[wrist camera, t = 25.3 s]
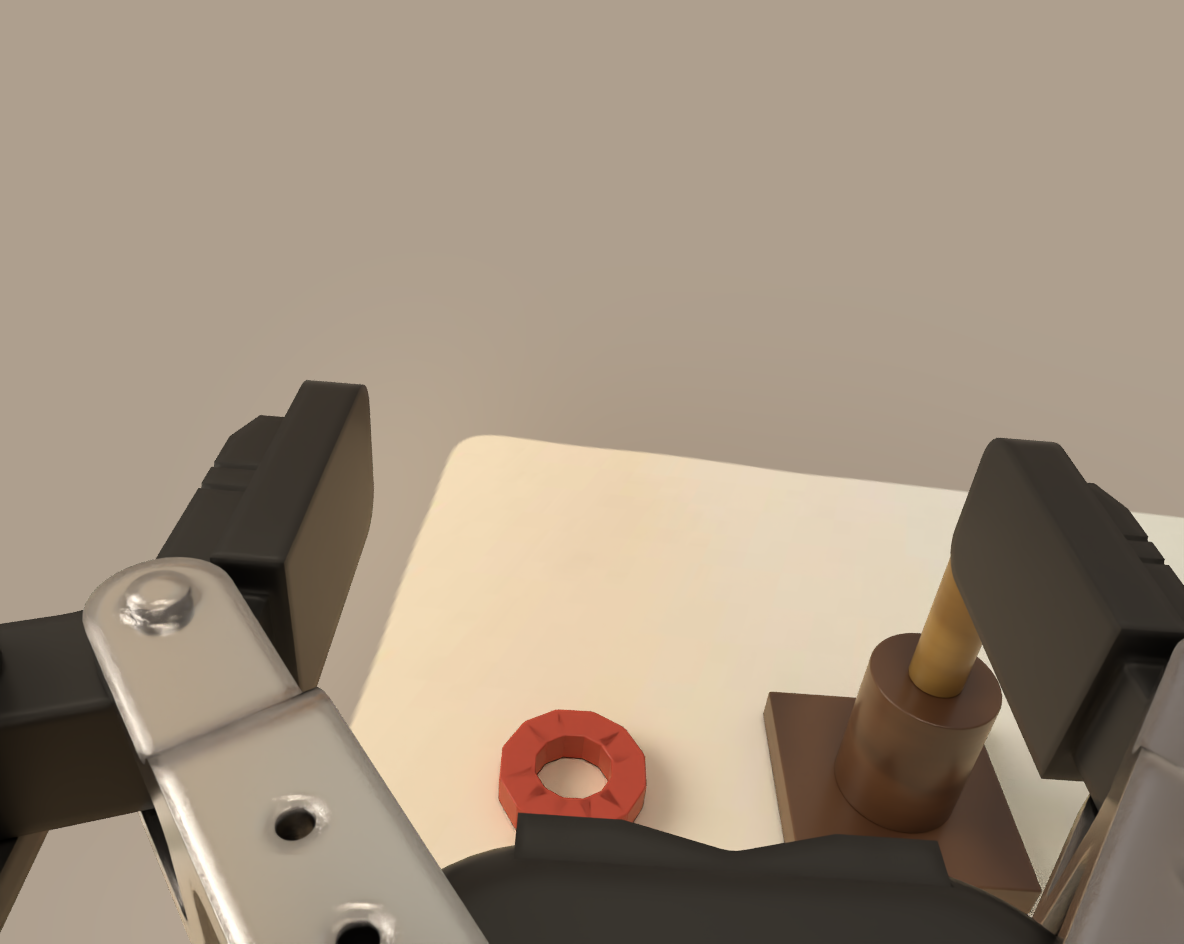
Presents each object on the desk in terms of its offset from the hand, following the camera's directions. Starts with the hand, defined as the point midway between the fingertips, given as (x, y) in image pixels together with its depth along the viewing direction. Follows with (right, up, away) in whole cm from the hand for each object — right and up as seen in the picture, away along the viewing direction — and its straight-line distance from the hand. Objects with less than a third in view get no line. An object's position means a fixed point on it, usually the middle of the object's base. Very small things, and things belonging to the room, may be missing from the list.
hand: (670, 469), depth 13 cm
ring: (-2, -12, +27) cm, 29 cm away
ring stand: (+11, -14, +28) cm, 33 cm away
